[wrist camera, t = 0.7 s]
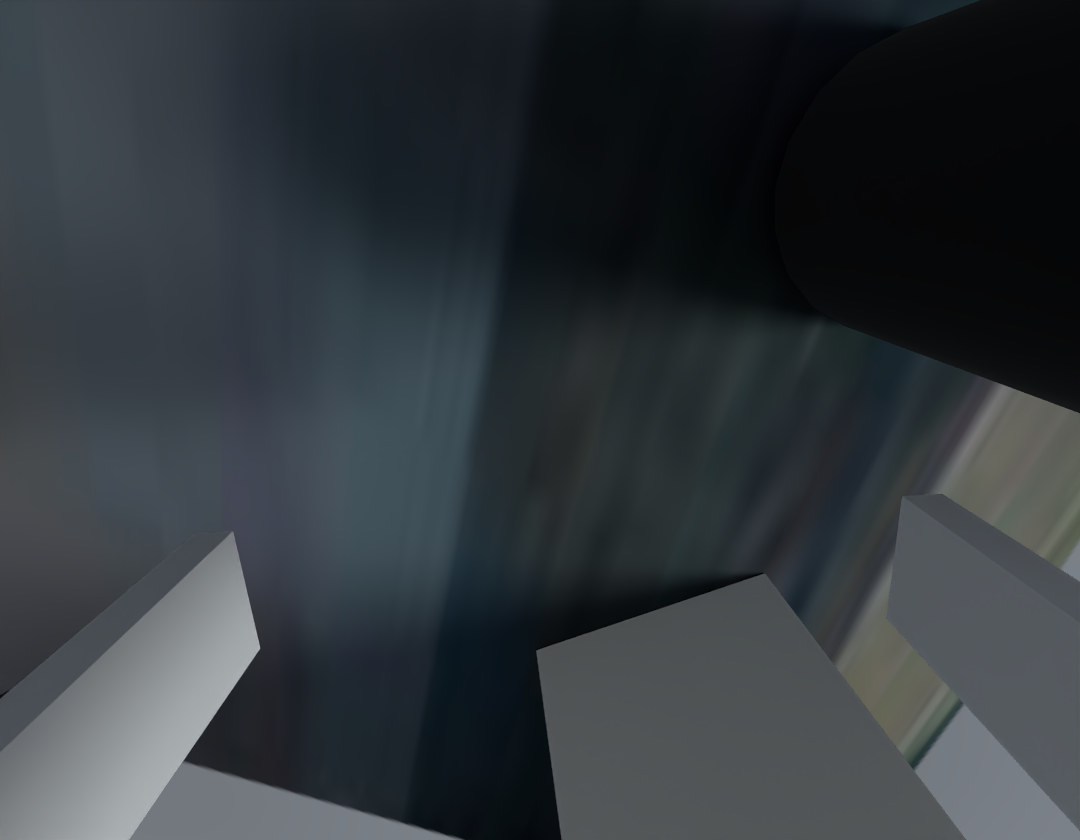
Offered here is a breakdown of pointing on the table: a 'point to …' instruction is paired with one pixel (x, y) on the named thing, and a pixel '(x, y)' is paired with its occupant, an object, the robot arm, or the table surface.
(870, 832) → the white block
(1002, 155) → the coffee jar
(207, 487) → the table surface
